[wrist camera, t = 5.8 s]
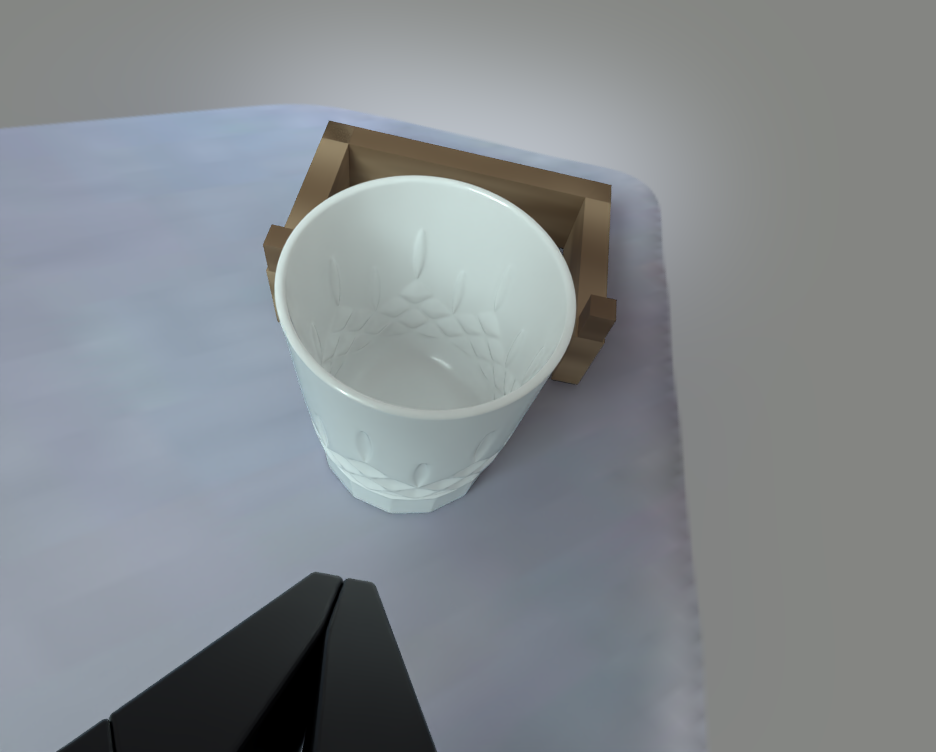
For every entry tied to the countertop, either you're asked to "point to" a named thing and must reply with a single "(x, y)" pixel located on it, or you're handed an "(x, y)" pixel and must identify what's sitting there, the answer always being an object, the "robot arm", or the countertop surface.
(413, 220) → the white cup
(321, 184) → the rack
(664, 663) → the countertop surface
